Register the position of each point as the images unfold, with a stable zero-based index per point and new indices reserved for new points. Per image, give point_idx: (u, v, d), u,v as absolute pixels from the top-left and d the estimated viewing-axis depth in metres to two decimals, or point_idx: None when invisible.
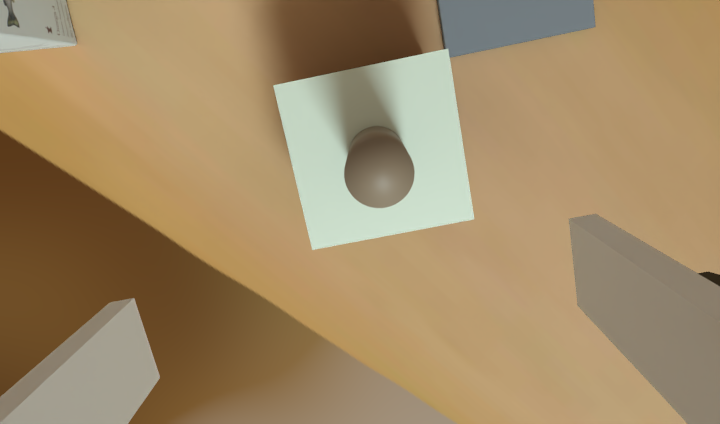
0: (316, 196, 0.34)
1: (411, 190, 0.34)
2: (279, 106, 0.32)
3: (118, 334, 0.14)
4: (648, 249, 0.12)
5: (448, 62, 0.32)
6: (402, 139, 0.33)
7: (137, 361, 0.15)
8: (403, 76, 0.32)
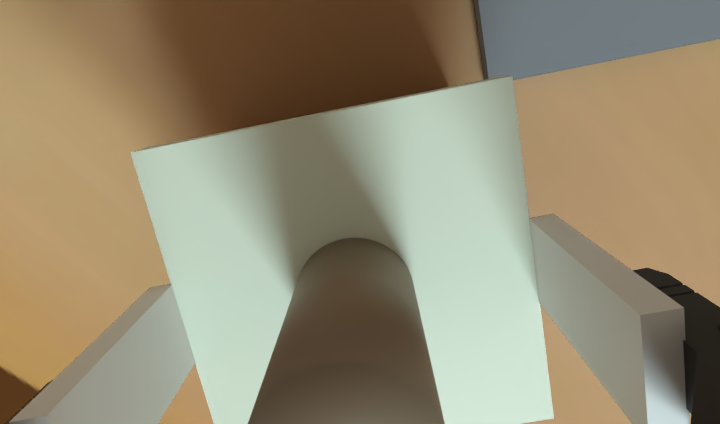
0: (232, 373, 0.17)
1: None
2: (146, 196, 0.15)
3: (161, 317, 0.15)
4: (592, 247, 0.12)
5: (512, 106, 0.14)
6: (409, 265, 0.16)
7: (177, 343, 0.15)
8: (412, 135, 0.15)
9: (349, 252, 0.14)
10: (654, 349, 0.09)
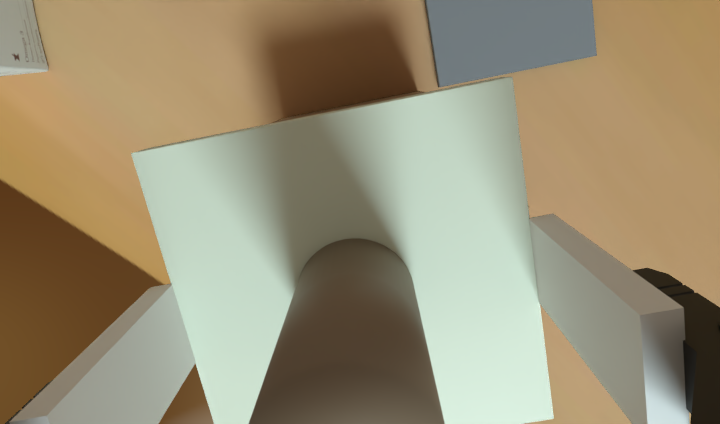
0: (232, 373, 0.17)
1: None
2: (147, 197, 0.15)
3: (161, 317, 0.15)
4: (592, 246, 0.12)
5: (512, 107, 0.14)
6: (409, 265, 0.16)
7: (177, 343, 0.15)
8: (412, 136, 0.15)
9: (349, 253, 0.14)
10: (654, 349, 0.09)
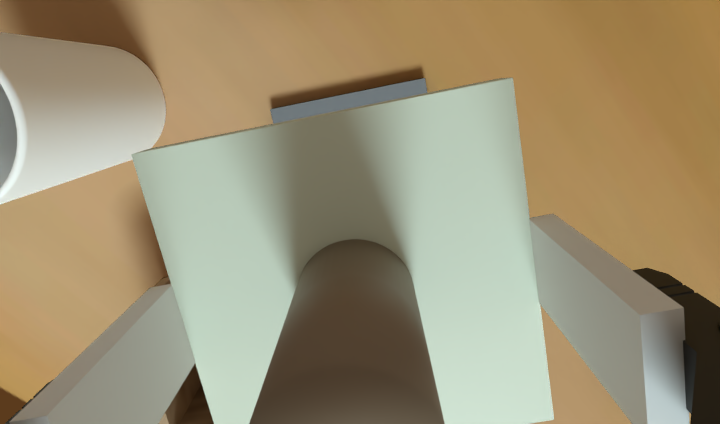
0: (232, 374, 0.17)
1: None
2: (147, 197, 0.15)
3: (162, 317, 0.15)
4: (592, 247, 0.12)
5: (512, 108, 0.14)
6: (409, 266, 0.16)
7: (177, 343, 0.15)
8: (412, 136, 0.15)
9: (349, 254, 0.14)
10: (654, 349, 0.09)
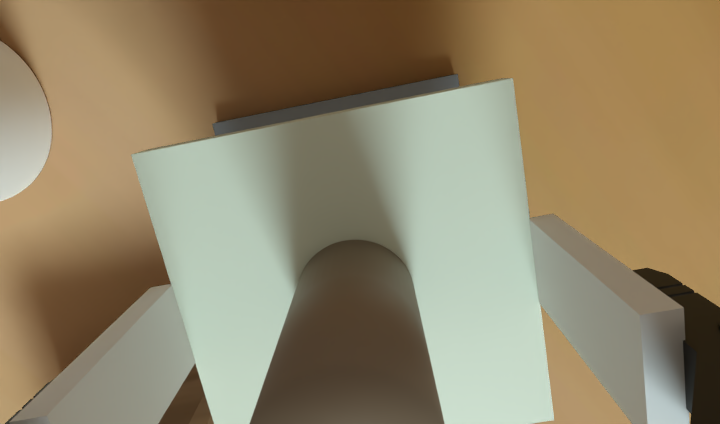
0: (233, 374, 0.17)
1: None
2: (147, 198, 0.15)
3: (161, 317, 0.15)
4: (592, 247, 0.12)
5: (512, 108, 0.14)
6: (409, 267, 0.16)
7: (177, 343, 0.15)
8: (412, 137, 0.15)
9: (349, 254, 0.14)
10: (654, 349, 0.09)
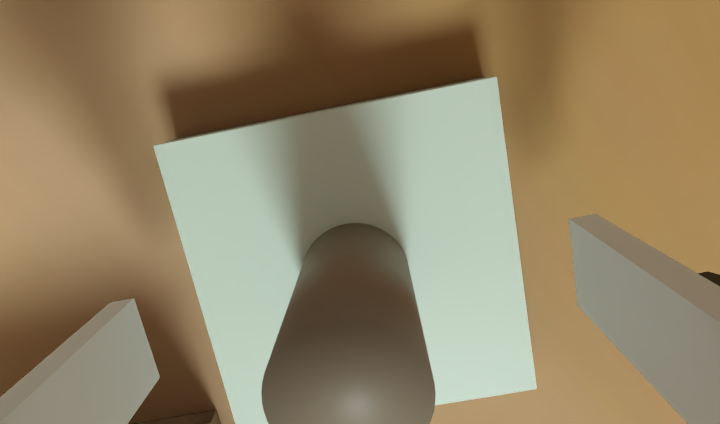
0: (243, 347, 0.18)
1: None
2: (167, 185, 0.17)
3: (118, 334, 0.14)
4: (648, 249, 0.12)
5: (496, 104, 0.16)
6: (404, 247, 0.17)
7: (137, 361, 0.15)
8: (407, 130, 0.16)
9: (350, 235, 0.16)
10: None
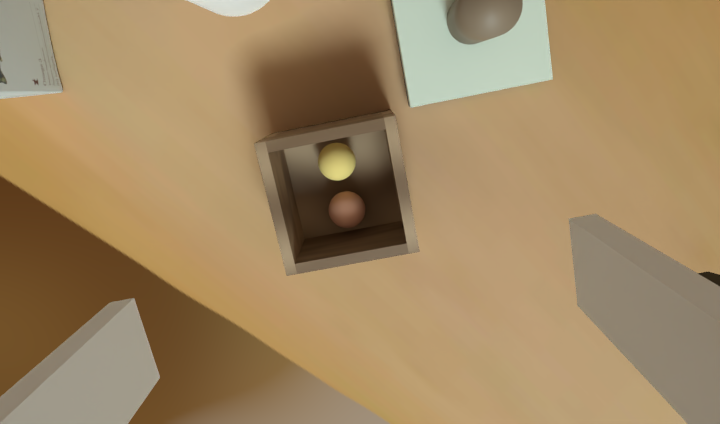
0: (416, 57, 0.39)
1: (499, 52, 0.39)
2: None
3: (118, 334, 0.14)
4: (648, 249, 0.12)
5: None
6: None
7: (137, 361, 0.15)
8: None
9: None
10: None
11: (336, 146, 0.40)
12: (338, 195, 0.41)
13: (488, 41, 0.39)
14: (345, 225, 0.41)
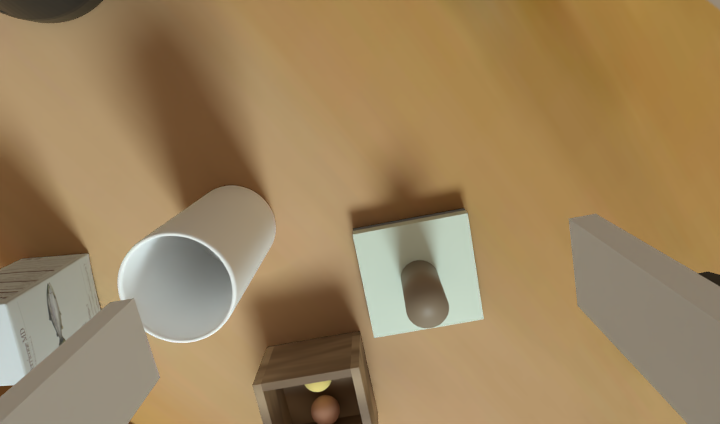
0: (378, 303, 0.51)
1: None
2: (356, 247, 0.49)
3: (118, 334, 0.14)
4: (648, 249, 0.12)
5: (467, 221, 0.48)
6: (436, 268, 0.50)
7: (137, 361, 0.15)
8: (438, 229, 0.49)
9: (419, 265, 0.48)
10: None
11: None
12: (318, 401, 0.53)
13: None
14: None
